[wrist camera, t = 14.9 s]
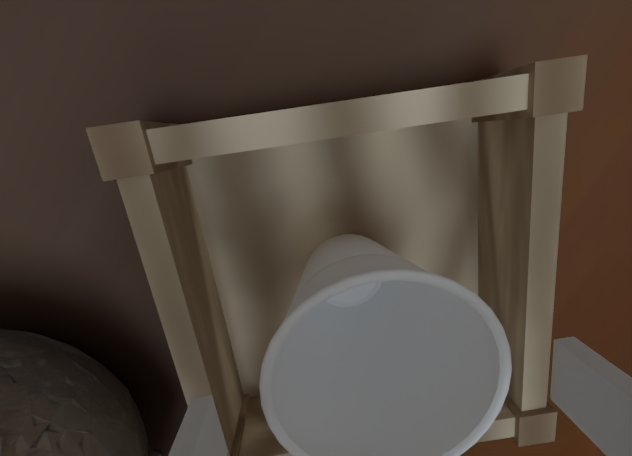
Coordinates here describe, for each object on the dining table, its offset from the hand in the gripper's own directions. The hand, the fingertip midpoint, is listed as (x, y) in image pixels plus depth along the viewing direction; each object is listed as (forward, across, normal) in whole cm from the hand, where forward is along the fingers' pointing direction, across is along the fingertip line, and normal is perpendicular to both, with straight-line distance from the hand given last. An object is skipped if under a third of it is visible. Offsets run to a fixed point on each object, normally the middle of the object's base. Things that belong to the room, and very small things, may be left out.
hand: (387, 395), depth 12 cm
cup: (+11, 0, 0) cm, 11 cm away
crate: (+12, 0, 0) cm, 12 cm away
